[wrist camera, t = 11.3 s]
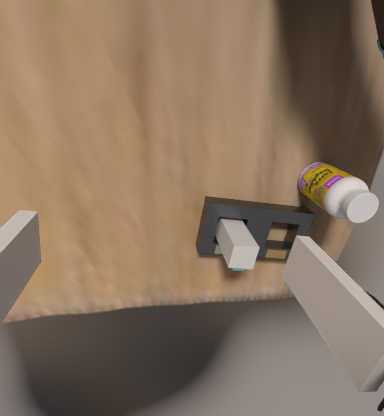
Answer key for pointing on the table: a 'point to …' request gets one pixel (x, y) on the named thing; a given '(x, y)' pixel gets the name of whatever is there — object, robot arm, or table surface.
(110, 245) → the table surface
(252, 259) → the plug
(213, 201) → the panel
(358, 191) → the supplement bottle
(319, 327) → the robot arm
